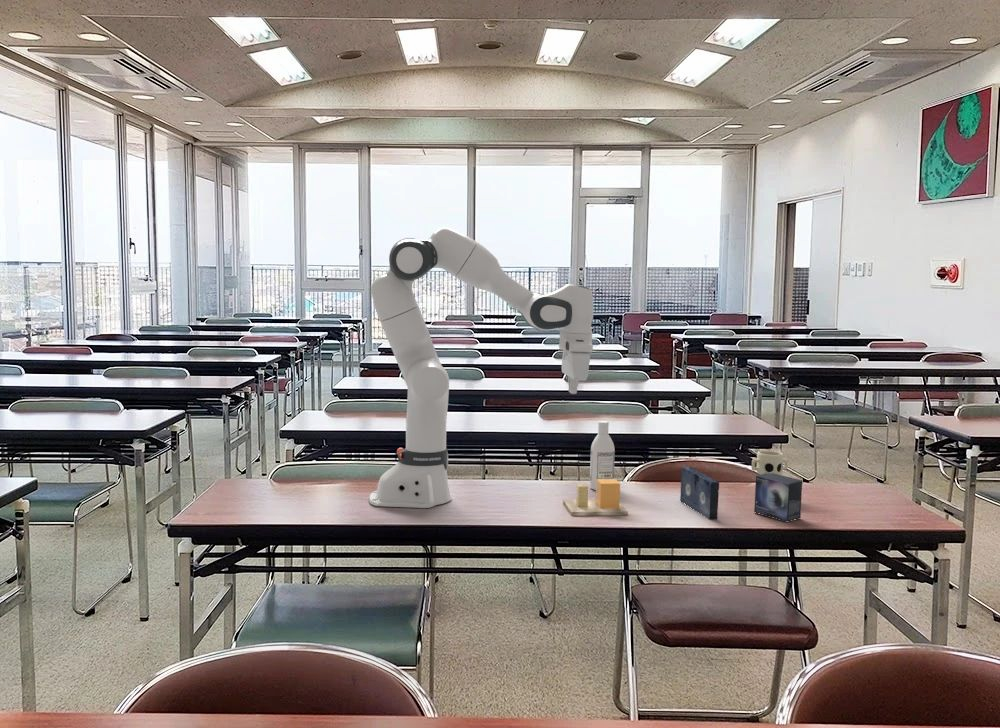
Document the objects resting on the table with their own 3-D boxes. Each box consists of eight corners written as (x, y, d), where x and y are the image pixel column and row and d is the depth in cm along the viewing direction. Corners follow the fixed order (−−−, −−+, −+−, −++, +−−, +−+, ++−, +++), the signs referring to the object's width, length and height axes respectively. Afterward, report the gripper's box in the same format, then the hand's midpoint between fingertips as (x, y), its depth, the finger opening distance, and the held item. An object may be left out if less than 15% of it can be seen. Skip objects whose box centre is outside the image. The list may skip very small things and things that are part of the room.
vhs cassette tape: (718, 519, 221) (719, 482, 220) (707, 520, 220) (708, 482, 219) (689, 501, 238) (691, 466, 237) (679, 501, 238) (681, 466, 237)
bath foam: (618, 489, 250) (620, 422, 248) (601, 492, 246) (604, 424, 244) (601, 484, 255) (603, 418, 253) (584, 487, 251) (586, 421, 249)
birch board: (571, 515, 221) (571, 511, 221) (563, 503, 233) (563, 499, 233) (627, 514, 223) (627, 511, 223) (616, 502, 235) (616, 499, 235)
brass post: (578, 507, 226) (578, 486, 226) (576, 504, 229) (576, 484, 228) (587, 506, 226) (588, 486, 226) (585, 504, 229) (586, 484, 228)
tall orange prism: (600, 508, 226) (600, 483, 225) (595, 502, 231) (596, 479, 230) (619, 507, 226) (620, 483, 225) (614, 502, 231) (615, 478, 231)
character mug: (755, 501, 240) (757, 455, 238) (744, 494, 247) (746, 450, 245) (792, 500, 241) (794, 455, 240) (780, 493, 248) (782, 449, 247)
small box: (752, 513, 227) (754, 474, 226) (767, 509, 231) (769, 471, 230) (786, 523, 218) (788, 483, 217) (801, 519, 222) (803, 479, 221)
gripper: (557, 340, 244) (555, 387, 245) (570, 345, 223) (567, 397, 225) (579, 341, 244) (576, 388, 246) (594, 346, 224) (591, 398, 225)
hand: (572, 393), depth 235 cm, fingers closed
